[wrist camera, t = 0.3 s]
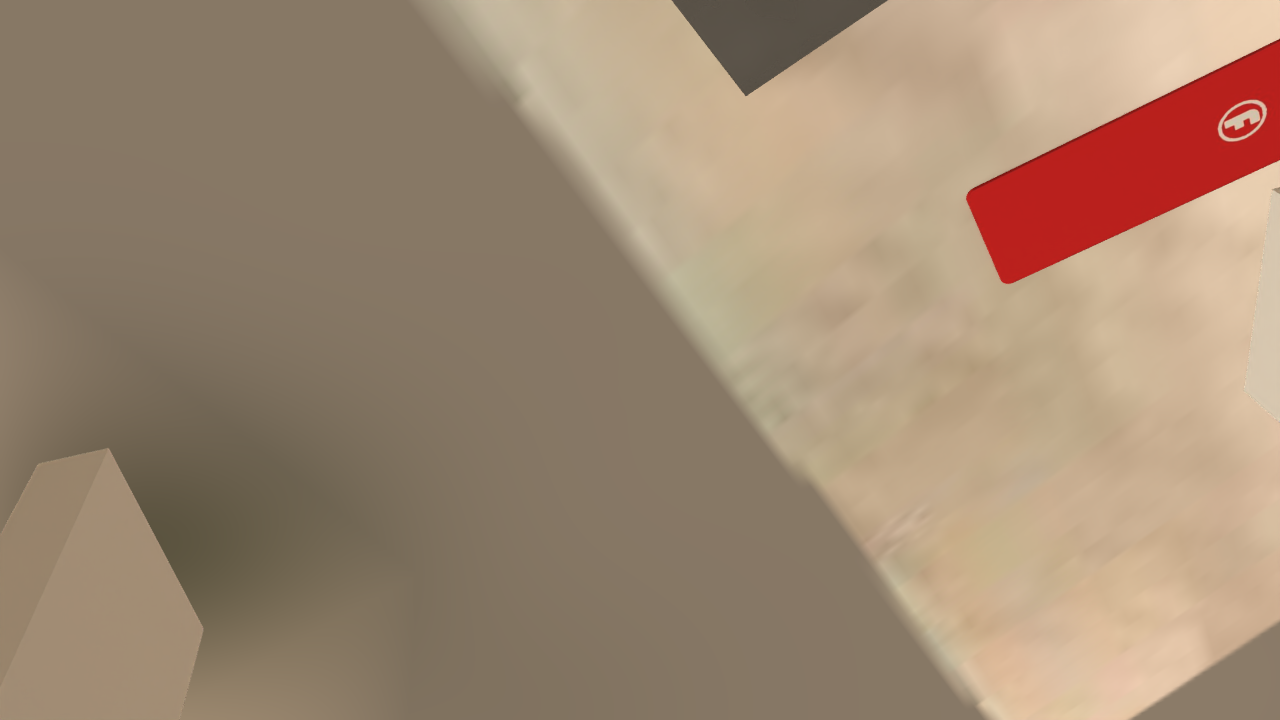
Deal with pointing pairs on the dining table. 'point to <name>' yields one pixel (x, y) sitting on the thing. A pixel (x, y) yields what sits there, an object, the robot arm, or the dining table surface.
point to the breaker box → (768, 32)
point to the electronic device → (1133, 167)
